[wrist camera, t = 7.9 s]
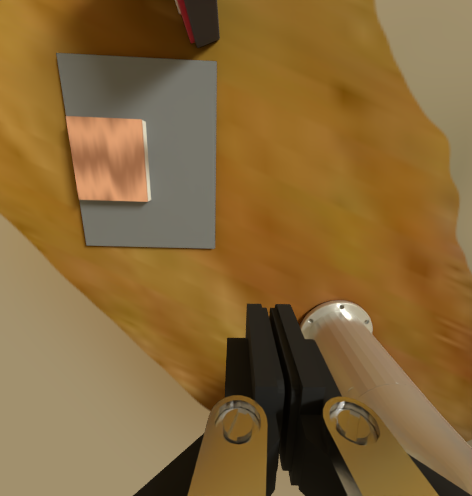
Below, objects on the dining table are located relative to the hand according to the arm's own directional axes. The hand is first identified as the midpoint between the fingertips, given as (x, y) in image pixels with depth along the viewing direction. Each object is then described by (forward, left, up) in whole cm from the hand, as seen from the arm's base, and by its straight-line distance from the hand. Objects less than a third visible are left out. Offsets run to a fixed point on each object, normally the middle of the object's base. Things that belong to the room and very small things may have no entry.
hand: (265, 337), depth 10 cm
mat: (+6, +13, -29) cm, 32 cm away
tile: (+6, +12, -27) cm, 30 cm away
